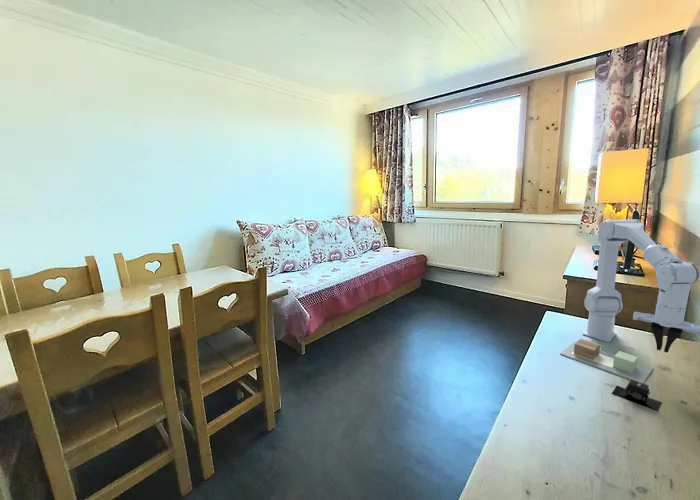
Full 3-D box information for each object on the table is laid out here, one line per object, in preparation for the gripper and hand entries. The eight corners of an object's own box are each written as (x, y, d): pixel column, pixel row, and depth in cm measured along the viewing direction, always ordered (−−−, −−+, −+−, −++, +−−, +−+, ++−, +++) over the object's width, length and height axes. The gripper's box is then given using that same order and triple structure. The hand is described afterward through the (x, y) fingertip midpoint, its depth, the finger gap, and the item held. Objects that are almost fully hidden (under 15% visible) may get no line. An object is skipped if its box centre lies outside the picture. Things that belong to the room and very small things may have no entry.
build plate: (574, 342, 114) (574, 341, 114) (653, 368, 97) (653, 367, 97) (560, 354, 107) (560, 353, 107) (642, 384, 90) (642, 383, 90)
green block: (617, 361, 101) (619, 350, 100) (636, 367, 98) (638, 356, 97) (612, 366, 99) (614, 356, 98) (632, 373, 95) (633, 362, 94)
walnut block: (579, 347, 110) (580, 338, 109) (599, 354, 105) (600, 344, 105) (573, 353, 107) (574, 343, 106) (593, 360, 102) (594, 350, 101)
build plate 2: (670, 406, 83) (674, 390, 82) (665, 419, 78) (669, 403, 77) (610, 383, 92) (613, 369, 91) (603, 394, 88) (605, 379, 87)
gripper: (632, 301, 91) (625, 344, 94) (708, 317, 79) (697, 366, 82) (639, 295, 95) (632, 337, 98) (712, 310, 83) (701, 356, 86)
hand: (662, 350), depth 90 cm, fingers closed
